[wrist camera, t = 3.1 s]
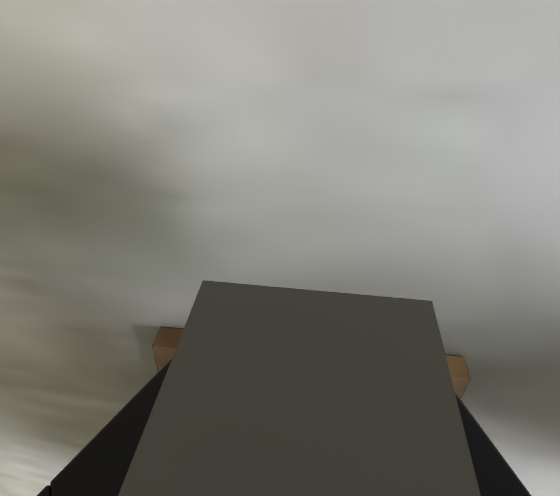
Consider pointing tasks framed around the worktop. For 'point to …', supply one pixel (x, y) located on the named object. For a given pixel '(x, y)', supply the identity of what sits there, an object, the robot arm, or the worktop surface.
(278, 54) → the worktop surface
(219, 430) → the shaft
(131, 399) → the robot arm
